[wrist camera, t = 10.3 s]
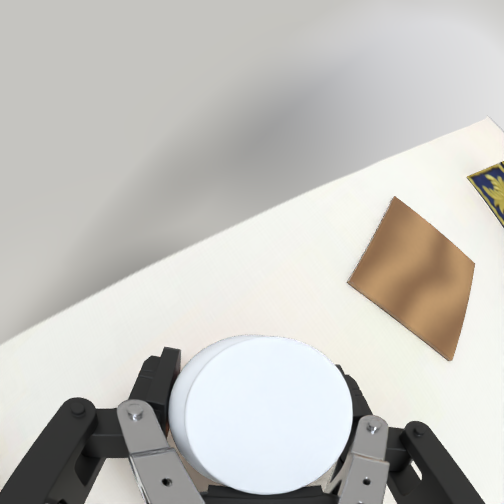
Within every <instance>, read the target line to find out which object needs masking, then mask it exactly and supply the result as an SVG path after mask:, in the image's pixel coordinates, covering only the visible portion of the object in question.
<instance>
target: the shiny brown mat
mask: <svg viewBox="0 0 504 504" xmlns="http://www.w3.org/2000/svg"><path fill="white" fill-rule="evenodd" d="M474 267H475V263H474V262H473V261H472V260H471V259H469V258H468V257H467V256H466V255H465V254H464V253H463V252H462V251H461V250H460V249H459V248H458V247H456V246H455V245H454V244H453V243H452V242H451V241H450V240H449V239H447V238H446V237H445V236H444V235H443V234H442V233H440V232H439V231H438V230H437V229H436V228H434V227H433V226H432V225H431V224H430V223H428V222H427V221H426V220H425V219H424V218H422V217H421V216H420V215H419V214H417V213H416V212H415V211H414V210H412V209H411V208H410V207H408V206H407V205H406V204H404V203H403V202H402V201H401V200H399V199H398V198H397V197H395V196H394V197H393V199H392V201H391V203H390V205H389V207H388V209H387V211H386V213H385V215H384V217H383V219H382V221H381V223H380V225H379V227H378V228H377V230H376V232H375V234H374V236H373V238H372V240H371V242H370V243H369V245H368V247H367V249H366V251H365V252H364V254H363V256H362V258H361V260H360V261H359V263H358V265H357V267H356V268H355V270H354V272H353V273H352V275H351V277H350V279H349V280H348V282H347V283H348V284H350V285H351V286H352V287H354V288H355V289H356V290H358V291H359V292H360V293H362V294H363V295H364V296H366V297H367V298H368V299H370V300H371V301H372V302H374V303H375V304H376V305H378V306H379V307H380V308H382V309H383V310H384V311H386V312H387V313H388V314H390V315H391V316H392V317H394V318H395V319H396V320H397V321H399V322H400V323H401V324H403V325H404V326H405V327H407V328H408V329H409V330H410V331H412V332H413V333H414V334H416V335H417V336H418V337H419V338H421V339H422V340H423V341H425V342H426V343H427V344H428V345H430V346H431V347H432V348H433V349H435V350H436V351H437V352H438V353H440V354H441V355H442V356H443V357H445V358H446V359H447V360H448V361H452V359H453V356H454V353H455V350H456V347H457V343H458V340H459V336H460V333H461V329H462V325H463V321H464V317H465V313H466V309H467V304H468V300H469V295H470V290H471V285H472V279H473V273H474Z"/></svg>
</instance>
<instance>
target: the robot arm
mask: <svg viewBox="0 0 504 504" xmlns="http://www.w3.org/2000/svg"><path fill="white" fill-rule="evenodd" d="M180 363H181V350H180V349H174V348H169V347H164V349H163V352H162V355H161V357H157V356H150V357H149V358H148V359H147V360H145V361H144V363H143V366H142V368H141V370H140V373H139V375H138V377H137V380H136V382H135V384H134V387H133V389H132V392H131V394H130V396H129V399H128V400H126V401H124V402H122V403H121V404H120V405H119V406H118V408H113V409H95V406H94V405H93V403H92V402H90V401H89V400H87V399H84V398H79V397H77V398H71V399H69V400H67V401H65V402H64V403H63V405H62V406H61V407H60V409H59V410H58V411H57V412H56V414H55V415H54V416H53V418H52V419H51V420H50V422H49V423H48V424H47V426H46V427H45V428H44V430H43V431H42V433H41V434H40V435H39V437H38V438H37V439H36V441H35V442H34V444H33V445H32V446H31V448H30V449H29V451H28V452H27V453H26V455H25V456H24V458H23V459H22V461H21V462H20V463H19V465H18V466H17V468H16V469H15V471H14V472H13V474H12V475H11V477H10V478H9V480H8V481H7V483H6V484H5V486H4V487H3V489H2V490H1V492H0V504H84V503H85V501H86V499H87V497H88V494H89V492H90V490H91V488H92V486H93V484H94V482H95V480H96V478H97V476H98V474H99V472H100V470H101V468H102V466H103V464H104V462H105V460H106V458H128V461H129V464H130V466H131V469H132V472H133V474H134V477H135V480H136V482H137V485H138V487H139V490H140V492H141V495H142V498H143V500H144V503H145V504H382V503H383V498H384V494H385V488H386V483H387V485H388V487H389V489H390V491H391V493H392V495H393V496H394V498H395V500H396V502H397V504H485V503H484V501H483V500H482V498H481V497H480V495H479V494H478V493H477V491H476V490H475V488H474V487H473V486H472V484H471V483H470V481H469V480H468V479H467V477H466V476H465V475H464V473H463V472H462V470H461V469H460V468H459V466H458V465H457V464H456V462H455V461H454V460H453V458H452V457H451V456H450V454H449V453H448V452H447V450H446V449H445V448H444V446H443V445H442V444H441V442H440V441H439V440H438V438H437V437H436V436H435V434H434V433H433V432H432V430H431V429H430V428H429V427H428V426H427V425H426V424H424V423H422V422H419V421H411V422H409V423H408V424H407V425H406V426H405V428H404V429H401V428H393V427H388V424H387V423H386V421H385V420H383V419H382V418H380V417H378V416H375V415H373V414H372V412H371V410H370V408H369V406H368V404H367V402H366V400H365V398H364V396H362V395H363V394H362V392H361V390H359V389H360V388H359V386H358V385H357V383H356V381H355V380H354V379H353V378H352V377H351V376H349V375H345V374H344V372H343V370H342V368H341V366H340V365H337V364H334V365H335V366H336V367H337V368H338V370H339V371H340V372H341V374H342V376H343V378H344V379H345V381H346V383H347V386H348V388H349V392H350V395H351V400H352V410H353V418H352V426H351V431H350V435H349V438H348V441H347V443H346V445H345V448H344V450H343V451H342V453H341V455H340V456H339V458H338V459H337V461H336V462H335V464H334V467H333V470H332V473H331V475H330V478H329V481H328V483H327V486H326V488H325V490H324V492H322V488H321V485H320V486H309V487H301V488H299V489H297V490H294V491H290V492H287V493H281V494H271V495H260V494H252V493H247V492H243V491H239V490H236V489H234V488H231V487H227V486H215V485H209V486H208V491H207V492H198V490H197V489H196V487H195V485H194V483H193V482H192V480H191V478H190V476H189V474H188V473H187V471H186V469H185V467H184V465H183V463H182V461H181V460H180V458H179V456H178V454H177V452H176V450H175V449H174V448H171V447H170V446H169V444H168V442H167V436H168V432H169V427H170V425H169V416H168V408H169V400H170V395H171V391H172V389H173V386H174V384H175V382H176V380H177V378H178V376H179V374H180ZM412 461H414V462H415V464H416V465H417V467H418V468H419V470H420V471H421V473H422V480H420V478H419V477H418V475H417V474H416V472H415V470H414V469H413V467H412V466H411V463H412Z"/></svg>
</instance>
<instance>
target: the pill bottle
mask: <svg viewBox="0 0 504 504" xmlns="http://www.w3.org/2000/svg"><path fill="white" fill-rule="evenodd" d="M168 416H169V425H170V430H171V434H172V437H173V439H174V442H175V444H176V446H177V448H178V450H179V451H180V453H181V454H182V456H183V457H184V458H185V459H186V461H187V462H188V463H189V464H190V465H191V466H192V467H193V468H194V469H195V470H197V471H198V472H199V473H200V474H202V475H203V476H205V477H207V478H209V479H210V480H212V481H214V482H217V483H219V484H222V485H225V486H229V487H231V488H234V489H236V490H239V491H243V492H247V493H252V494H260V495H271V494H281V493H287V492H290V491H294V490H297V489H299V488H301V487H304V486H306V485H308V484H310V483H312V482H313V481H315V480H316V479H318V478H319V477H321V476H322V475H323V474H324V473H325V472H326V471H328V470H329V469H330V468H331V466H332V465H333V464H334V463H335V462H336V461H337V459H338V458H339V456H340V455H341V453H342V451H343V450H344V448H345V445H346V443H347V441H348V438H349V435H350V431H351V426H352V418H353V410H352V400H351V395H350V392H349V388H348V386H347V383H346V381H345V379H344V378H343V376H342V374H341V372H340V371H339V370H338V368H337V367H336V366H335V365H334V363H333V362H332V361H331V360H330V359H329V358H328V357H327V356H325V355H324V354H323V353H322V352H320V351H319V350H317V349H316V348H314V347H312V346H310V345H308V344H306V343H303V342H301V341H298V340H295V339H290V338H285V337H276V336H263V335H240V336H234V337H230V338H226V339H223V340H220V341H218V342H216V343H213V344H211V345H210V346H208V347H206V348H204V349H203V350H201V351H200V352H199V353H198V354H196V355H195V356H194V357H193V358H192V359H191V360H190V361H189V362H188V363H187V364H186V365H185V367H184V368H183V370H182V371H181V372H180V374H179V376H178V378H177V380H176V382H175V384H174V386H173V389H172V391H171V395H170V400H169V408H168Z"/></svg>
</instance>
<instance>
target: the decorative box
mask: <svg viewBox="0 0 504 504" xmlns="http://www.w3.org/2000/svg"><path fill="white" fill-rule="evenodd" d="M467 178H468V179H469V181H470V182H471V183H472V184H473V186H474V187H475V188H476V189H477V191H478V192H479V193H480V195H481V196H482V197H483V199H484V200H485V201H486V203H487V204H488V205H489V207H490V208H491V210H492V211H493V212H494V214H495V215H496V217H497V218H498V220H499V221H500V223H501V224H502V226H503V227H504V161H503V162H500V163H498V164H496V165H493V166H491V167H489V168H486V169H484V170H482V171H479V172H477V173H474V174H472V175H470V176H467Z"/></svg>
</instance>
